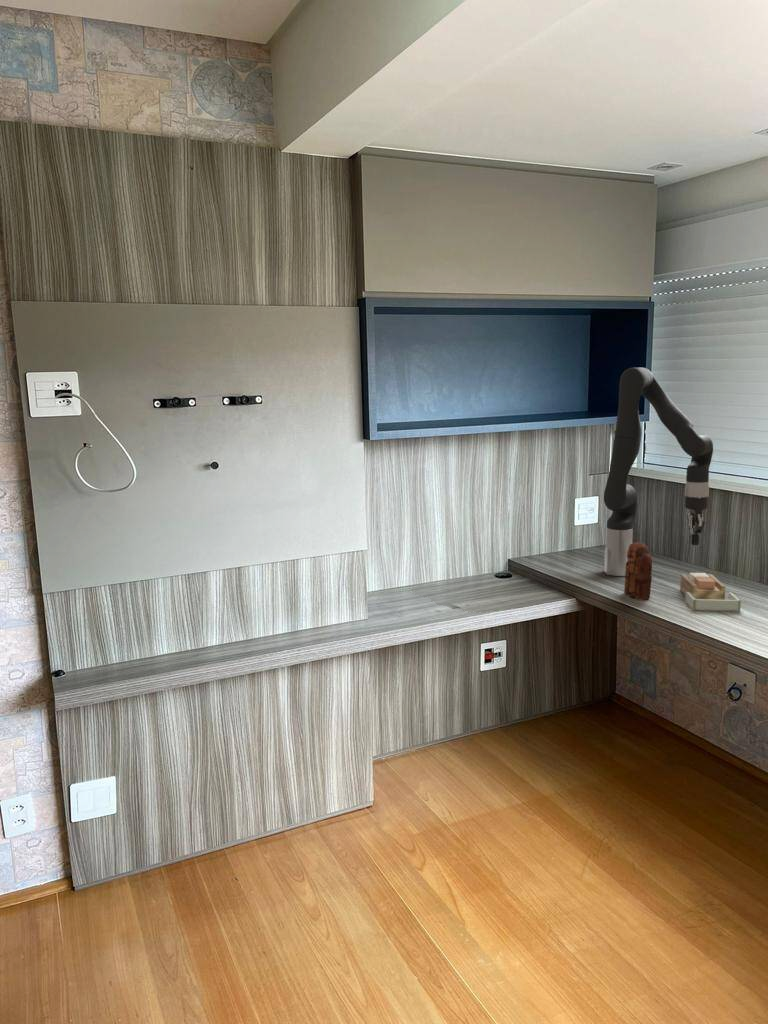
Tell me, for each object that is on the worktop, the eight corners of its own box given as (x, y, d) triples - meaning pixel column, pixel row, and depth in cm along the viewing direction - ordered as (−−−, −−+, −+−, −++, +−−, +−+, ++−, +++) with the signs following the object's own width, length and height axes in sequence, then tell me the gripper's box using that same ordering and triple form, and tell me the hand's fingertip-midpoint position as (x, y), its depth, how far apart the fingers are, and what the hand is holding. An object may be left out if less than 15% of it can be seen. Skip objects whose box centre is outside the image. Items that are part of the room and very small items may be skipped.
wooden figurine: (618, 591, 262) (620, 540, 259) (635, 590, 264) (637, 538, 261) (637, 601, 251) (640, 547, 248) (655, 599, 252) (657, 546, 249)
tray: (693, 610, 240) (693, 600, 239) (685, 602, 249) (686, 591, 248) (740, 611, 238) (740, 600, 238) (730, 603, 247) (731, 592, 246)
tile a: (693, 583, 256) (693, 576, 255) (689, 579, 261) (689, 572, 260) (709, 583, 255) (709, 576, 255) (704, 579, 260) (705, 572, 260)
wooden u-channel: (691, 602, 249) (692, 585, 248) (680, 589, 263) (680, 573, 262) (724, 603, 247) (725, 586, 246) (710, 590, 262) (711, 574, 261)
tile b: (698, 588, 250) (698, 581, 250) (694, 584, 255) (694, 577, 254) (714, 588, 249) (715, 581, 249) (710, 584, 254) (710, 577, 254)
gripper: (680, 491, 268) (678, 540, 271) (690, 497, 255) (688, 548, 258) (702, 491, 267) (700, 540, 270) (714, 497, 254) (711, 548, 257)
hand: (694, 544), depth 264 cm, fingers closed
